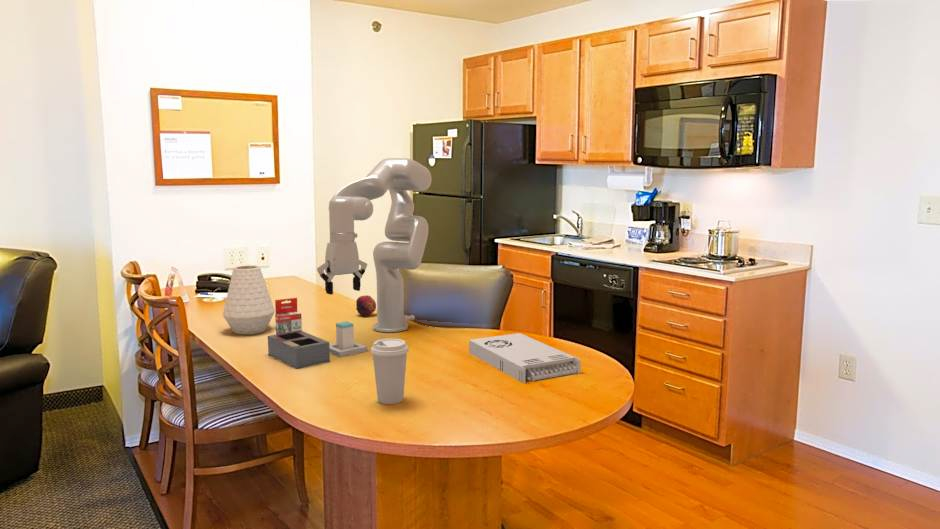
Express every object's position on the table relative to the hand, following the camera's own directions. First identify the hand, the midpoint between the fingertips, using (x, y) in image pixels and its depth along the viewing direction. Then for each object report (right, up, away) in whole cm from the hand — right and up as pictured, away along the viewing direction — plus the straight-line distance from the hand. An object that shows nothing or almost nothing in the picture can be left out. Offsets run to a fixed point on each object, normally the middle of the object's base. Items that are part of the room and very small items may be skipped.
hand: (343, 292), depth 209 cm
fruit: (-1, -12, +51) cm, 52 cm away
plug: (0, -19, +3) cm, 19 cm away
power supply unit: (+56, -22, -9) cm, 60 cm away
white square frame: (0, -19, +3) cm, 19 cm away
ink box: (-20, -18, +13) cm, 30 cm away
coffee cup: (+20, -26, -40) cm, 52 cm away
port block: (-13, -20, -5) cm, 24 cm away
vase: (-39, -15, +28) cm, 50 cm away
